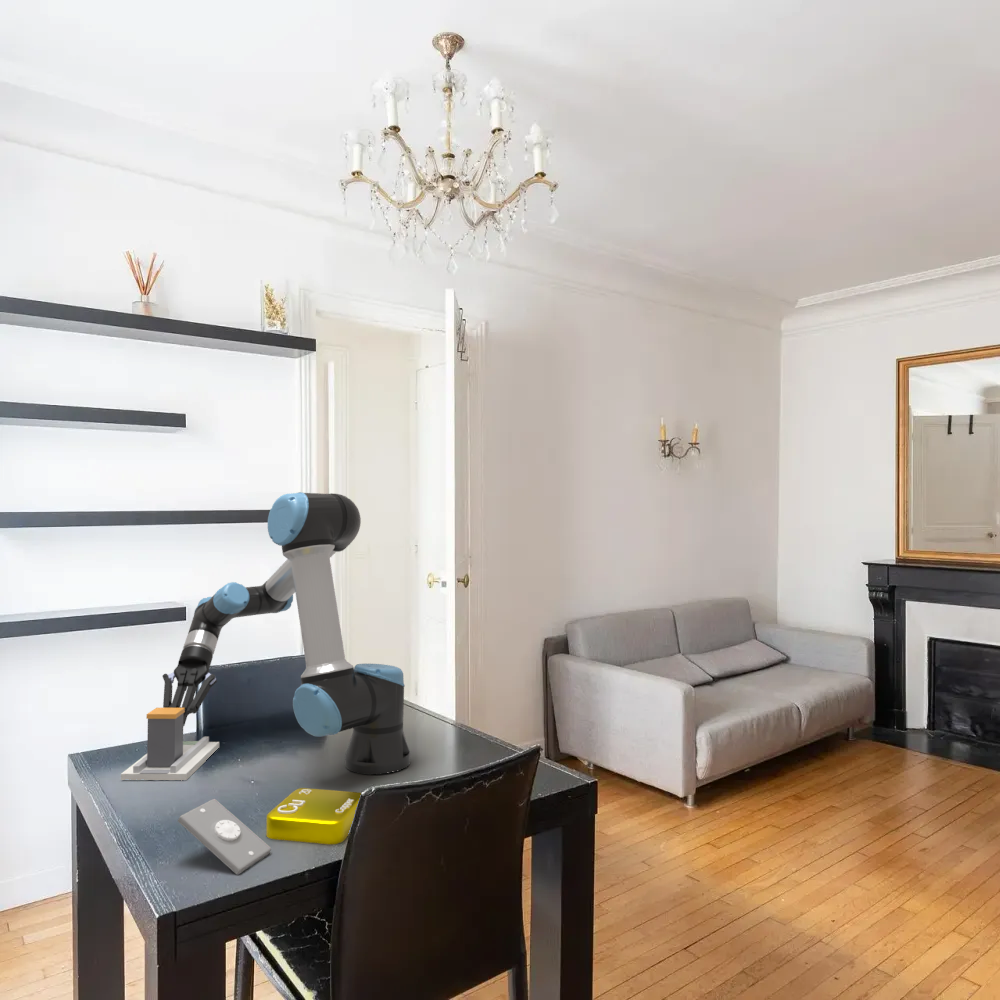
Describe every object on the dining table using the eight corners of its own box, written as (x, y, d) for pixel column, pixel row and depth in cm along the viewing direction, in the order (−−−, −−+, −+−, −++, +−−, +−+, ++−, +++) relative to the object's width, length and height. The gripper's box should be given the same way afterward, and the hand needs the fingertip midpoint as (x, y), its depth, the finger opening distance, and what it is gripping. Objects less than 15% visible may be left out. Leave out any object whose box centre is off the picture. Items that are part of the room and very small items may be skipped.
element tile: (339, 847, 137) (340, 821, 137) (261, 840, 139) (262, 814, 139) (368, 814, 152) (368, 789, 152) (297, 808, 154) (297, 784, 154)
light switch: (242, 865, 125) (181, 811, 130) (227, 894, 126) (168, 839, 131) (274, 844, 133) (216, 793, 138) (260, 870, 134) (203, 819, 139)
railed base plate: (185, 780, 167) (186, 766, 167) (120, 780, 166) (121, 766, 166) (219, 748, 189) (219, 735, 189) (161, 747, 188) (162, 735, 188)
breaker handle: (174, 767, 171) (175, 714, 171) (145, 767, 170) (146, 714, 170) (184, 758, 176) (184, 707, 176) (155, 758, 176) (156, 707, 176)
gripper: (227, 661, 196) (203, 746, 180) (176, 660, 196) (147, 746, 179) (220, 644, 191) (195, 731, 174) (167, 644, 191) (137, 731, 174)
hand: (170, 739), depth 177 cm, fingers closed
